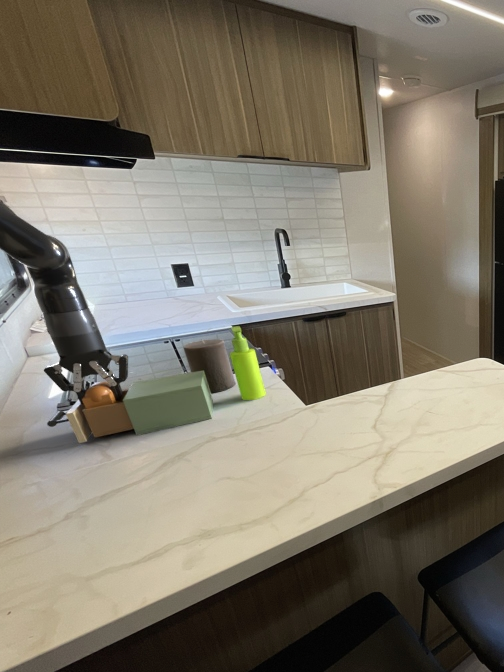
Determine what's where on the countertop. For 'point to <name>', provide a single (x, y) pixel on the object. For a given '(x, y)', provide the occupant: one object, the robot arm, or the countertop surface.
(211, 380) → the pillar candle
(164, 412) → the cabinet
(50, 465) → the countertop surface
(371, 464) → the countertop surface
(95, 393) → the orange domed block
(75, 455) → the countertop surface
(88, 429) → the drawer
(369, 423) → the countertop surface
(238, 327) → the soap dispenser
